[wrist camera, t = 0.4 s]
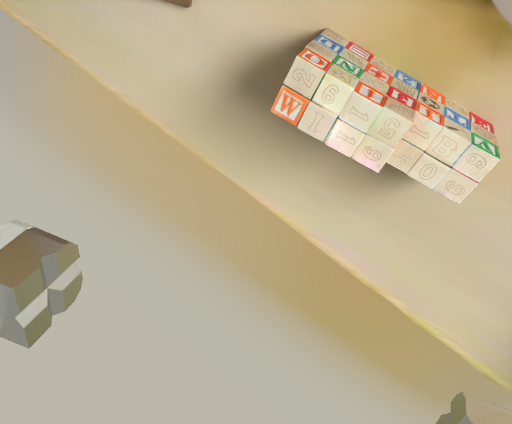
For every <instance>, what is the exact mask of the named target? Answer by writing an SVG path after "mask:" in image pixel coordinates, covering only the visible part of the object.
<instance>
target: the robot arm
mask: <svg viewBox="0 0 512 424" xmlns="http://www.w3.org/2000/svg"><path fill="white" fill-rule="evenodd" d="M79 257H80V255H79V250H78V246H77V245H76V244H74V243H71V242H69V241H67V240H64V239H62V238H59V237H57V236H55V235H52V234H50V233H47V232H45V231H43V230H40V229H38V228H35V227H33V226H30V225H28V224H25V223H23V222H20V221H18V220H14V221H9V222H7V223H5V224H4V225H2V226H1V227H0V337H2V338H5V339H7V340H9V341H12V342H14V343H17V344H20V345H22V346H24V347H27V348H30V347H31V346H32V345H33V344H34V343H35V342H36V341H37V340H38V338H40V337H41V336H42V334H44V333H45V332H46V330H47V329H48V328H49V327H50V326H51V323H52V316H53V315H55V314H58V313H61V312H64V311H66V310H67V309H68V307H69V306H70V305H71V304H72V303H73V302H74V301H75V299H76V297H77V295H78V293H79V291H80V289H81V284H82V272H81V270H80V269H79V267H78V266H77V264H76V263H75V261H76V260H77V259H78V258H79ZM436 424H512V410H509V409H506V408H504V407H501V406H498V405H495V404H493V403H490V402H487V401H485V400H482V399H479V398H476V397H474V396H471V395H469V394H465V393H463V392H461V393H459V394H457V395H456V396H455V398H454V399H453V400H452V401H451V413H448V414H444V415H441V417H440V418H439V420H438V421H437V423H436Z"/></svg>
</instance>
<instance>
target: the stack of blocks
mask: <svg viewBox="0 0 512 424" xmlns="http://www.w3.org/2000/svg"><path fill="white" fill-rule="evenodd" d="M283 83H284V84H283V85H282V87H281V89H280V91H279V93H278V95H277V97H276V99H275V101H274V103H273V105H272V107H271V110H270V111H271V112H272V113H274V114H276V115H277V116H279V117H281V118H283V119H284V120H286V121H288V122H290V123H291V124H293V125H295V126H297V128H298V129H300V130H301V131H303V132H305V133H307V134H309V135H310V136H312V137H314V138H316V139H318V140H319V141H321V142H324V143H325V144H326V145H328V146H329V147H331V148H333V149H335V150H336V151H338V152H340V153H342V154H344V155H345V156H347V157H351V158H352V159H353V160H355V161H357V162H359V163H361V164H362V165H364V166H366V167H368V168H370V169H371V170H373V171H375V172H377V173H379V171H380V170H381V168H382V167H383V166H384V164H385V163H388V164H390V165H391V166H393V167H395V168H397V169H398V170H400V171H402V172H404V173H405V174H407V176H409V177H411V178H412V179H414V180H416V181H418V182H419V183H421V184H423V185H424V186H426V187H428V188H430V189H432V190H433V189H434V190H435V191H437V192H438V193H440V194H442V195H443V196H445V197H447V198H448V199H450V200H452V201H454V202H455V203H457V204H460V202H461V201H462V200H463V199H464V198H465V197H466V196H467V195H468V194H469V193H470V192H471V191H472V190H473V189H474V188H475V187H476V186H477V185H478V183H479V181H481V179H482V178H483V177H484V176H485V175H486V174H487V173H488V172H489V171H490V170H491V169H492V168H493V167H494V166H495V165H496V164H497V163H498V161H499V160H500V155H499V149H498V146H497V143H496V136H495V135H494V127H493V125H492V124H490V123H489V122H487V121H485V120H483V119H481V118H480V117H478V116H476V115H474V114H472V113H471V112H469V111H468V110H467V109H466V108H464V107H462V106H460V105H459V104H457V103H455V102H453V101H452V100H450V99H448V98H446V97H445V96H443V95H442V94H440V93H438V92H437V91H435V90H433V89H431V88H430V87H428V86H426V85H425V84H422V83H420V82H418V81H416V80H414V79H413V78H411V77H409V76H408V75H406V74H404V73H403V72H401V71H399V70H396V69H395V68H394V67H392V66H390V65H388V64H387V63H385V62H383V61H381V60H380V59H378V58H376V57H374V56H373V55H372V54H371V53H369V52H367V51H366V50H364V49H362V48H360V47H359V46H357V45H355V44H354V43H352V42H350V41H349V40H347V39H346V38H344V37H342V36H341V35H339V34H337V33H336V32H334V31H332V30H330V29H329V28H326V29H325V30H324V31H323V32H322V33H321V34H320V35H319V36H317V37H316V38H315V39H314V40H312V41H311V42H309V43H308V44H307V45H306V46H305V47H304V49H303V50H302V51H301V52H300V53H299V54H298V55H297V56H296V58H295V60H294V62H293V64H292V66H291V68H290V70H289V72H288V74H287V76H286V78H285V80H284V82H283Z"/></svg>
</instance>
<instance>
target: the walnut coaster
mask: <svg viewBox="0 0 512 424" xmlns="http://www.w3.org/2000/svg"><path fill="white" fill-rule="evenodd" d="M166 1H169V2H172V3H175V4H178V5H181V6H184V7H190V6H191V3H192V0H166Z"/></svg>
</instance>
